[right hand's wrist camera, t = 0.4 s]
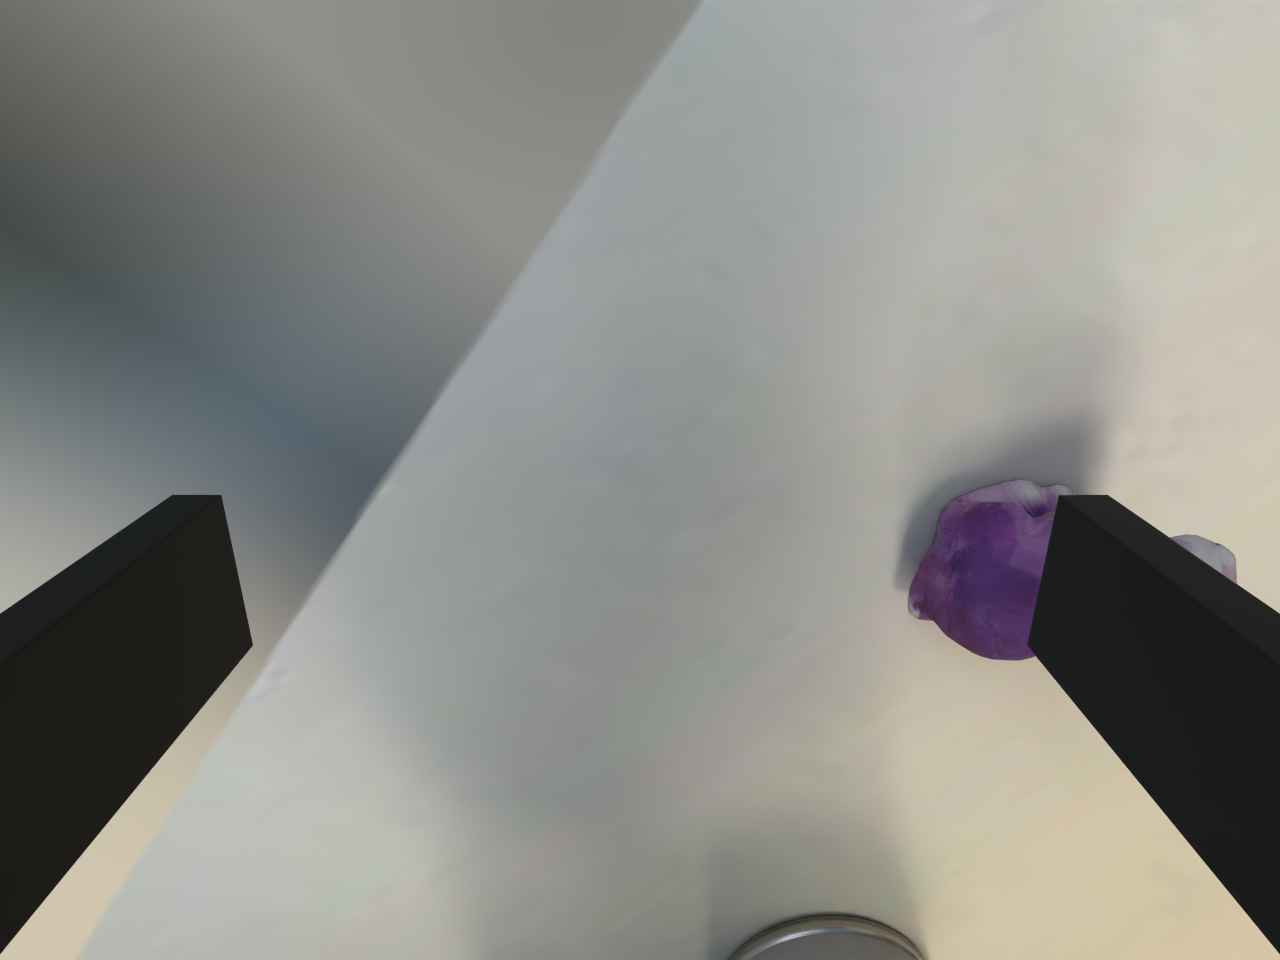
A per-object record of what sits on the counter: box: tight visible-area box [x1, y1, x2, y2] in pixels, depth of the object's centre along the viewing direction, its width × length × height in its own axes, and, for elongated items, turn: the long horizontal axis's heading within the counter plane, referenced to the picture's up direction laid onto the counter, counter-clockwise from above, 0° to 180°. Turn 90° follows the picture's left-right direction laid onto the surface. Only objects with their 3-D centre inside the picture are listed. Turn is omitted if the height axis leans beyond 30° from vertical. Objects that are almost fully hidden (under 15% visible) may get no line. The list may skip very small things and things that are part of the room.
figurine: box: [908, 479, 1237, 660], centre depth 36 cm, size 9×10×15 cm
